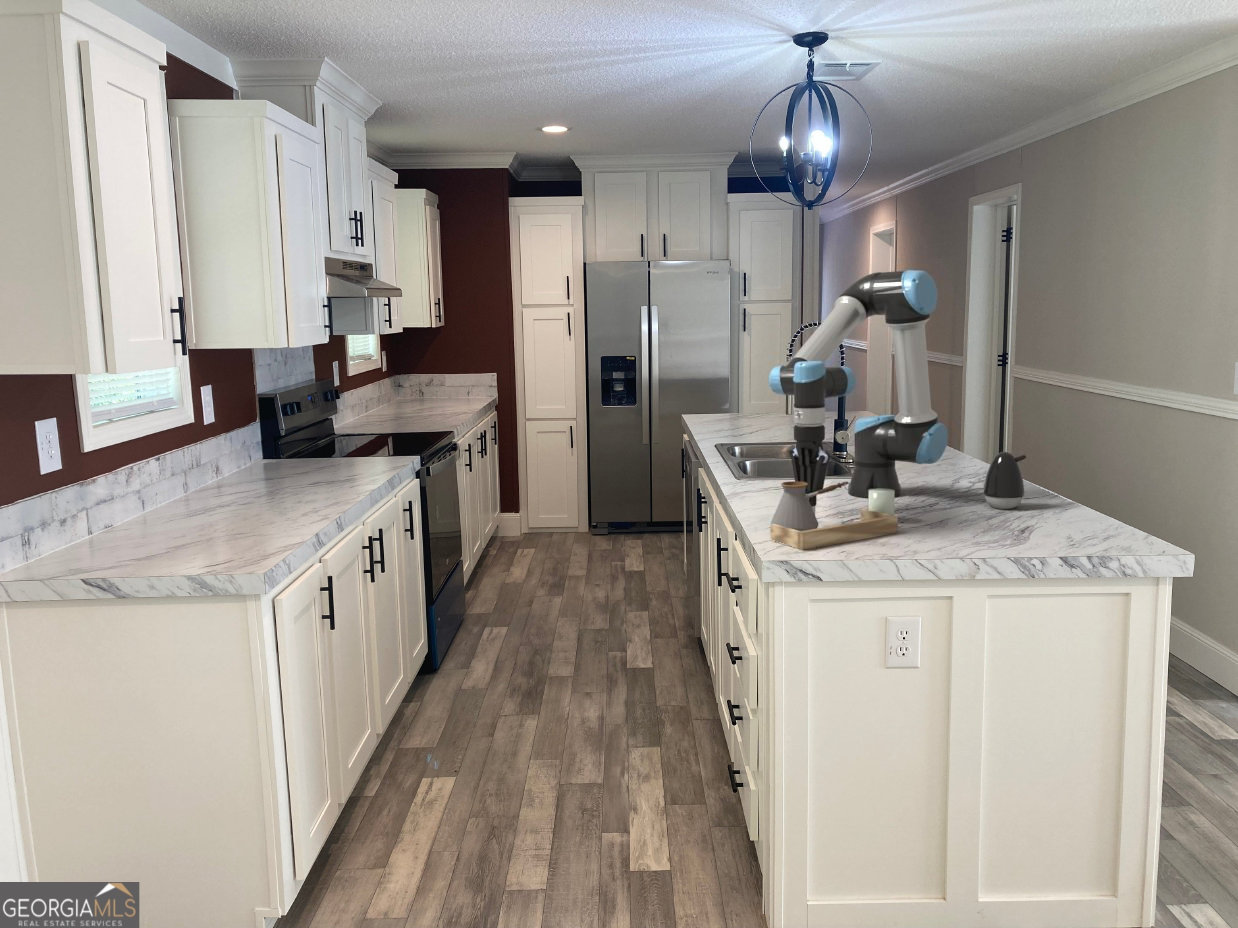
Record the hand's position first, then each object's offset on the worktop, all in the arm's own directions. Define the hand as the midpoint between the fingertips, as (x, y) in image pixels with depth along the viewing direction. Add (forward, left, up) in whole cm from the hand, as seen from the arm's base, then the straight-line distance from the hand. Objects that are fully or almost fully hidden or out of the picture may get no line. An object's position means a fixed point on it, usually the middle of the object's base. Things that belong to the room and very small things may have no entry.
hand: (809, 518), depth 233 cm
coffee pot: (+7, -6, -3) cm, 10 cm away
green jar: (+4, +21, -3) cm, 21 cm away
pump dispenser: (+11, +59, -3) cm, 60 cm away
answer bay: (+10, 0, -3) cm, 10 cm away
